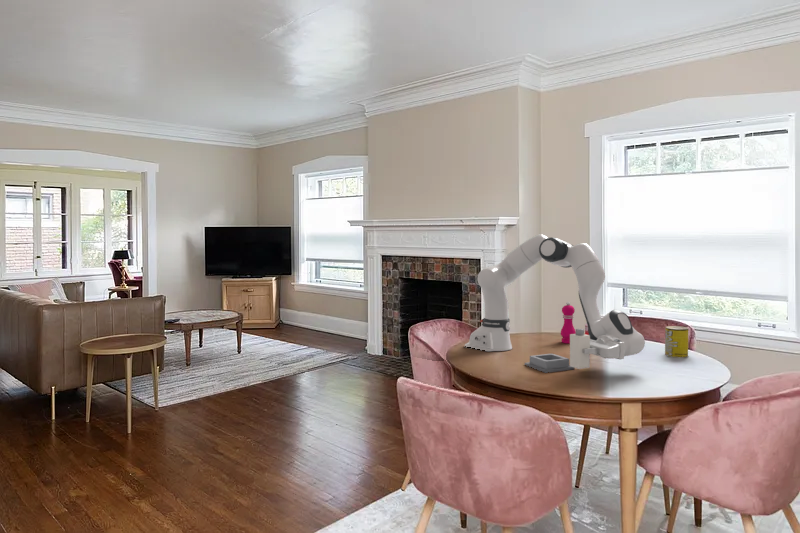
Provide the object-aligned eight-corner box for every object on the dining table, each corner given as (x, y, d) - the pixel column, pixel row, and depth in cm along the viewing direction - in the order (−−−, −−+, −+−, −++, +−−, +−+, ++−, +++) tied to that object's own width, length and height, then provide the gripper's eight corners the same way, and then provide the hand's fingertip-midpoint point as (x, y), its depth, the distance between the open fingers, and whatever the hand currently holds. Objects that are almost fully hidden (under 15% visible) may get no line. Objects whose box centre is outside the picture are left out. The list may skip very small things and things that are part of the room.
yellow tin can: (672, 352, 250) (672, 325, 249) (692, 355, 243) (692, 328, 242) (660, 354, 245) (661, 327, 244) (680, 358, 238) (681, 330, 237)
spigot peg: (569, 366, 210) (569, 329, 209) (580, 364, 212) (580, 328, 211) (578, 369, 205) (578, 331, 204) (589, 367, 207) (589, 330, 206)
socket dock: (524, 365, 229) (524, 355, 229) (552, 361, 234) (552, 352, 234) (545, 372, 216) (545, 362, 216) (574, 369, 221) (574, 359, 221)
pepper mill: (576, 344, 271) (576, 302, 270) (561, 343, 272) (561, 302, 271) (575, 341, 278) (575, 301, 277) (559, 340, 279) (560, 301, 278)
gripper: (588, 333, 222) (560, 336, 217) (627, 343, 203) (596, 346, 198) (588, 349, 222) (560, 352, 217) (627, 360, 204) (596, 363, 198)
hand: (577, 349), depth 208 cm, fingers closed on spigot peg, 5 cm apart
